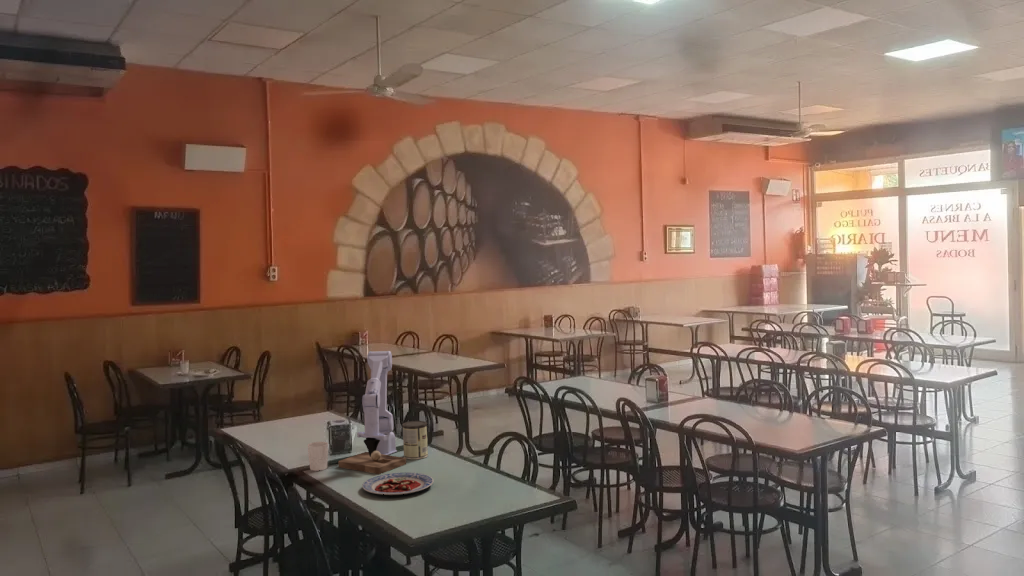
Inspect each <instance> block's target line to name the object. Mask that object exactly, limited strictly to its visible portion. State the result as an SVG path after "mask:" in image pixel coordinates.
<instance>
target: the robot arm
mask: <svg viewBox="0 0 1024 576" xmlns="http://www.w3.org/2000/svg"><path fill="white" fill-rule="evenodd" d="M392 353H393V352H392V351H391V350H387V351H386V350H384V351H383V350H380V351H379V350H377V351H371V350H370V351H368V352H367V356H366V357H367V358H366V361H367V365H368V366H369V369H370V379H368V380H367V382H366V387H365V392H364V393H365V394H363V395H362V397H361V398H362V399H361V402H362V409H363V410H362V411H363V414H364V418H363V419H364V431H358V432H357V433H356V434H357V435H356V437H357V438H365V439H363V444H364V445H365V447H366V449H367V452H369V455H370V457H371V454H372V452H373V451H379V452H380V454H383V455H391V454H394V453H397V452H398V450H397V444H396V436H395V433H394V432H393V431H394V423H395V422H394V416H393V414H392V412H390V411H389V410H387V401H388V398H387V395H388V390H387V388H388V372H389V371H391V370H392V367H393V354H392Z"/></svg>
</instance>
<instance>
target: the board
mask: <svg viewBox="0 0 1024 576" xmlns="http://www.w3.org/2000/svg"><path fill="white" fill-rule="evenodd" d="M406 465H407V459H406V458H404V456H403V457H402V456H396V455H391V454H389V455H383V454H381V457H380V459H379V460H377V461H374V460H372V458H371V457H370V455H369V452H368V451H364V452H362V453H358V454H355V455H352V456H349V457H346V458H344V459H340V460H338V468H342V469H348V470H354V471H359V472H364V473H371V474H375V475H376V474H377V475H382V474H385V473H387V472H389V471H392V470H394V469H397V468H400V467H401V466H406ZM381 473H382V474H381Z"/></svg>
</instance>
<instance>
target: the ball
mask: <svg viewBox="0 0 1024 576" xmlns="http://www.w3.org/2000/svg"><path fill="white" fill-rule="evenodd" d="M380 457H381V454H380V452H379V451H373V452H372V454H371V458H372V460H374V461H377V460H379V459H380Z"/></svg>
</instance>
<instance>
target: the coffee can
mask: <svg viewBox="0 0 1024 576" xmlns="http://www.w3.org/2000/svg"><path fill="white" fill-rule="evenodd" d="M427 425H428V422H427V421H424V420H412V421H405V422H403V423H402V440H403V442H402V444H403V445H402V446H403V458H406V460H413V461H414V460H415V461H416V460H421V459H426V458H427V457H428V456H429V452H428V449H429V448H428V446H429V445H428V426H427Z"/></svg>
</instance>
